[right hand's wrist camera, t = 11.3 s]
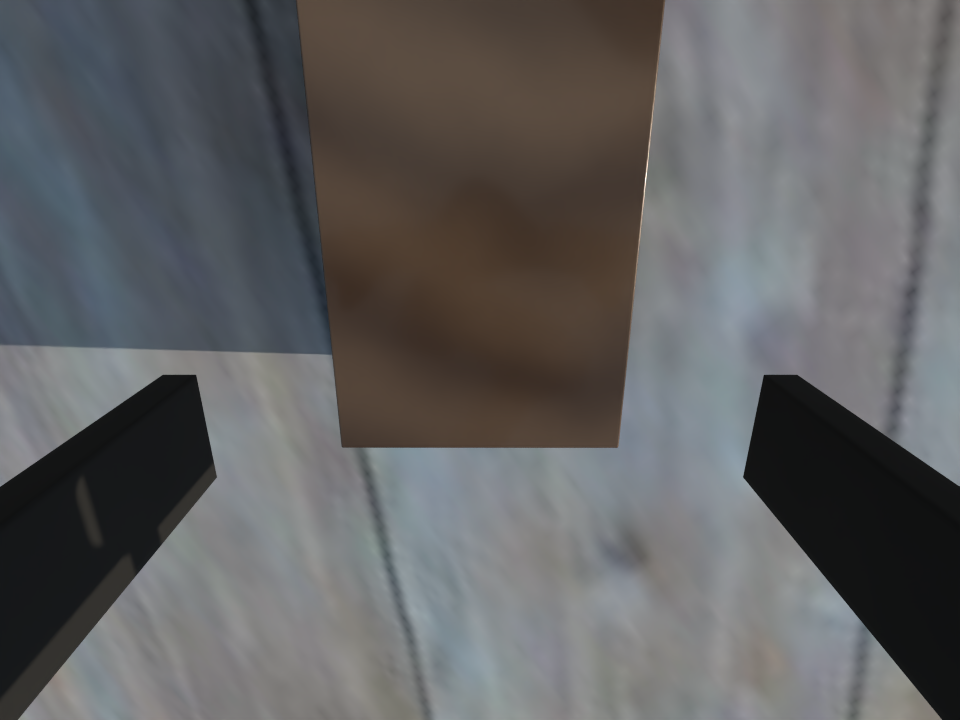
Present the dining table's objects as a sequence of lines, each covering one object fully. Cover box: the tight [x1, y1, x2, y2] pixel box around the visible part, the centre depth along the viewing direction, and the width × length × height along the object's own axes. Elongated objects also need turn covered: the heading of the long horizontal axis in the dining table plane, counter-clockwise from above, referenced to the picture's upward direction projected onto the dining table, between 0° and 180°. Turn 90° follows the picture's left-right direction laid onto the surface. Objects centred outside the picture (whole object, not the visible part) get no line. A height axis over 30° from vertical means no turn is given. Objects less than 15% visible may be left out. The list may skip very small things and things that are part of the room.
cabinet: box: [296, 0, 665, 448], centre depth 23 cm, size 22×11×10 cm, turn 0°
